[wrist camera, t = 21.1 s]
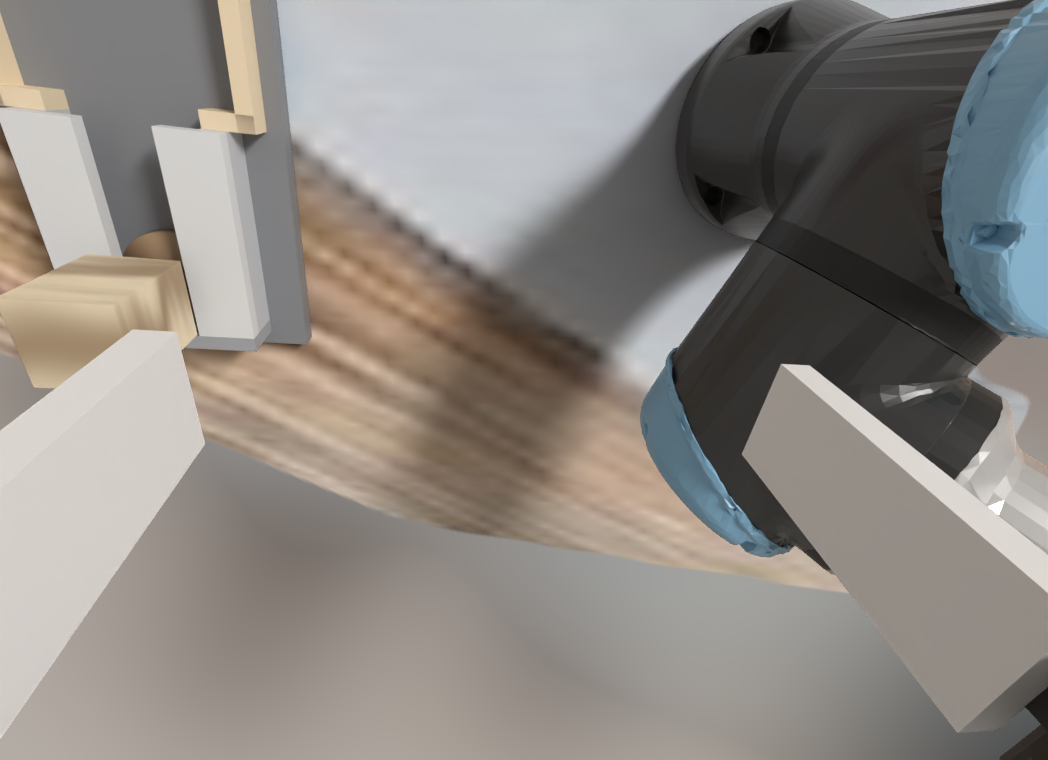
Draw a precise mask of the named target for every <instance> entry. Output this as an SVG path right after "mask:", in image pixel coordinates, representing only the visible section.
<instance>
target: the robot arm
mask: <svg viewBox="0 0 1048 760" xmlns="http://www.w3.org/2000/svg"><path fill="white" fill-rule="evenodd" d="M676 154H677V166H678V172H679V176H680V180H681V183H682V186H683V189H684V191H685V193H686V195H687V197H688V199H689V201H690V202H691V204H692V205H693V207H694V208H695V209H696V210H697V211H698V213H699V214H700V215H701V216H702V217H704V218H705V219H706V220H707V221H709V222H710V223H712V224H713V225H715V226H717V227H719V228H721V229H723V230H725V231H726V232H728V233H731V234H733V235H735V236H738V237H742V238H746V239H752V240H755V241H754V243H753V244H752V246H751V247H750V248H749V250H748V251H747V253H746V254H745V256H744V257H743V258H742V260H741V261H740V263H739V264H738V266H737V267H736V268H735V270H734V271H733V273H732V274H731V276H730V277H729V278H728V280H727V281H726V282H725V284H724V285H723V287H722V288H721V289H720V291H719V292H718V293H717V295H716V296H715V298H714V299H713V300H712V302H711V303H710V304H709V306H708V307H707V309H706V310H705V311H704V313H703V314H702V315H701V317H700V318H699V319H698V321H697V322H696V324H695V325H694V326H693V328H692V329H691V330H690V332H689V333H688V335H687V336H686V337H685V339H684V340H683V341H682V343H681V344H680V346H679V347H678V348H673V350H672V351H671V352H670V353H669V355H668V357H667V359H666V365H665V367H664V369H663V370H662V372H661V373H660V375H659V376H658V378H657V380H656V381H655V383H654V384H653V386H652V387H651V389H650V390H649V392H648V393H647V395H646V397H645V399H644V401H643V404H642V407H641V414H640V423H641V428H642V434H643V436H644V439H645V441H646V446H647V449H648V452H649V454H650V456H651V458H652V460H653V461H654V463H655V465H656V467H657V468H658V470H659V472H660V473H661V475H662V476H663V478H664V479H665V481H666V482H667V483H668V485H669V486H670V487H671V489H672V490H673V491H674V492H675V493H676V495H677V496H678V497H679V498H680V499H681V501H682V502H683V503H684V504H685V505H686V506H687V507H688V508H689V509H690V510H691V511H692V512H693V513H694V514H695V515H696V516H697V517H698V518H699V519H700V520H701V521H702V522H703V523H704V524H705V525H706V526H707V527H709V528H710V529H711V530H712V531H714V532H715V533H716V534H718V535H719V536H720V537H722V538H723V539H725V540H726V541H728V542H729V543H731V544H733V545H738V544H740V545H741V547H742V548H743V549H744V550H745V551H746V552H748V553H750V554H753V555H756V556H760V557H772V556H775V555H778V554H784V553H787V552H789V551H790V550H791V549H792V548H793V547H794V545H795V546H796V547H798V548H799V549H800V550H802V551H803V552H804V553H806V554H807V555H808V556H809V557H810V558H812V559H813V560H814V561H815V562H817V563H818V564H819V565H820V566H821V567H823V569H825V570H826V571H828V572H829V573H830V574H833V575H836V576H837V578H838V579H839V580H840V582H841V583H842V584H843V586H844V587H845V588H846V589H847V591H848V592H849V593H850V595H851V596H852V597H853V598H854V600H855V601H856V602H857V604H858V605H859V606H860V607H861V609H862V610H863V611H864V613H865V614H866V615H867V617H868V618H869V619H870V620H871V622H872V623H873V624H874V625H875V627H876V628H877V629H878V631H879V632H880V633H881V635H882V636H883V637H884V638H885V640H886V641H887V642H888V644H889V645H890V646H891V648H892V649H893V650H894V651H895V653H896V654H897V655H898V657H899V658H900V659H901V660H902V662H903V663H904V664H905V666H906V667H907V668H908V669H909V671H910V672H911V673H912V675H913V676H914V677H915V678H916V680H917V681H918V682H919V684H920V685H921V686H922V687H923V689H924V690H925V691H926V693H927V694H928V695H929V697H930V698H931V699H932V700H933V702H934V703H935V704H936V706H937V707H938V708H939V709H940V711H941V712H942V713H943V715H944V716H945V717H946V718H947V720H948V721H949V722H950V724H951V725H952V726H953V728H954V729H955V730H956V731H957V733H964V732H975V731H986V730H997V729H1000V728H1001V727H1002V726H1004V725H1005V724H1006V723H1007V722H1009V721H1010V720H1011V719H1012V718H1013V717H1015V716H1016V715H1017V714H1018V713H1019V712H1021V711H1022V710H1023V709H1024V708H1025V707H1026V708H1027V709H1028V710H1029V711H1030V713H1031V714H1033V716H1034V717H1035V718H1036V719H1037V720H1038V721H1039V722H1040V723H1041V725H1040V726H1039V727H1037V728H1036V729H1035V730H1034V731H1032V732H1031V733H1030V734H1029V735H1027V736H1026V737H1025V738H1024V739H1022V740H1021V741H1020V742H1018V743H1017V744H1016V745H1015V746H1013V747H1012V748H1011V749H1010V750H1008V751H1007V752H1006V753H1004V754H1003V755H1002V756H1001V757H1000V760H1048V467H1046V466H1044V465H1043V464H1041V463H1040V462H1038V461H1036V460H1035V459H1033V458H1031V457H1030V456H1028V455H1026V454H1025V453H1023V452H1022V451H1021V450H1020V448H1019V446H1018V444H1017V442H1016V438H1015V432H1014V426H1013V420H1012V414H1011V407H1010V404H1009V403H1008V401H1007V400H1005V399H1004V398H1002V397H1001V396H998V395H997V394H995V393H993V392H991V391H990V390H988V389H986V388H985V387H983V386H981V385H979V384H978V383H976V382H974V381H972V380H971V379H969V378H968V375H969V374H970V373H971V372H972V370H973V369H974V368H975V367H976V366H977V365H978V364H979V363H980V362H981V361H982V360H983V359H984V358H985V357H986V356H987V355H988V354H989V353H990V352H991V351H992V350H993V349H994V348H995V347H996V346H997V345H999V344H1000V342H1002V341H1003V340H1004V339H1005V338H1006V337H1007V336H1008V335H1011V336H1015V337H1027V338H1034V337H1036V338H1048V0H1008V1H1001V2H995V3H989V4H982V5H976V6H970V7H963V8H957V9H950V10H944V11H938V12H931V13H925V14H919V15H912V16H906V17H901V18H895V19H890V18H888V17H886V16H884V15H882V14H880V13H878V12H876V11H874V10H871V9H869V8H867V7H865V6H863V5H861V4H859V3H856V2H854V1H851V0H796V1H792V2H787V3H784V4H780V5H777V6H774V7H771V8H769V9H766V10H764V11H762V12H760V13H758V14H756V15H755V16H753V17H751V18H750V19H748V20H747V21H745V22H744V23H742V24H741V25H740V26H738V27H737V28H736V29H735V30H734V31H732V32H731V33H730V34H729V35H728V36H727V37H726V38H725V39H724V40H723V41H722V42H721V43H720V44H719V45H718V46H717V47H716V49H715V50H714V51H713V52H712V54H711V55H710V56H709V58H708V59H707V60H706V62H705V63H704V65H703V66H702V68H701V69H700V71H699V73H698V75H697V76H696V78H695V80H694V82H693V84H692V86H691V88H690V90H689V93H688V95H687V98H686V100H685V103H684V106H683V109H682V113H681V117H680V121H679V126H678V133H677V145H676ZM204 445H205V441H204V437H203V433H202V429H201V425H200V421H199V418H198V414H197V410H196V406H195V402H194V398H193V394H192V390H191V386H190V382H189V379H188V375H187V371H186V367H185V363H184V359H183V355H182V351H181V347H180V343H179V340H178V336H177V332H172V331H153V330H134V329H133V330H131V331H130V332H129V333H127V334H126V335H125V336H123V337H122V338H121V339H120V340H118V341H117V342H116V343H114V344H113V345H112V346H110V347H109V348H108V349H106V350H105V351H104V352H103V353H101V354H100V355H99V356H97V357H96V358H95V359H93V360H92V361H91V362H89V363H88V364H87V365H85V366H84V367H83V368H82V369H80V370H79V371H78V372H76V373H75V374H74V375H72V376H71V377H70V378H68V379H67V380H66V381H64V382H63V383H62V384H61V385H59V386H58V387H57V388H55V389H54V390H53V391H51V392H50V393H49V394H47V395H46V396H45V397H44V398H42V399H41V400H40V401H38V402H37V403H36V404H34V405H33V406H32V407H30V408H29V409H28V410H27V411H25V412H24V413H23V414H21V415H20V416H19V417H17V418H16V419H15V420H13V421H12V422H11V423H10V424H8V425H7V426H5V427H4V428H3V429H2V430H0V739H1V737H2V736H3V735H4V733H5V731H6V730H7V729H8V727H9V726H10V724H11V723H12V722H13V720H14V719H15V717H16V716H17V714H18V713H19V711H20V710H21V709H22V707H23V706H24V704H25V703H26V701H27V700H28V699H29V697H30V696H31V694H32V693H33V691H34V690H35V688H36V687H37V685H38V684H39V683H40V681H41V680H42V678H43V677H44V675H45V674H46V673H47V671H48V670H49V668H50V667H51V665H52V664H53V662H54V661H55V659H56V658H57V656H58V655H59V654H60V652H61V651H62V649H63V648H64V647H65V645H66V644H67V642H68V641H69V639H70V638H71V637H72V635H73V633H74V632H75V631H76V629H77V628H78V626H79V625H80V624H81V622H82V621H83V619H84V618H85V616H86V615H87V613H88V612H89V611H90V609H91V608H92V606H93V605H94V603H95V602H96V600H97V599H98V598H99V596H100V594H101V593H102V592H103V590H104V589H105V587H106V586H107V584H108V583H109V582H110V580H111V579H112V577H113V576H114V574H115V573H116V572H117V570H118V569H119V567H120V566H121V564H122V563H123V562H124V560H125V559H126V557H127V556H128V554H129V553H130V551H131V550H132V548H133V547H134V546H135V544H136V543H137V541H138V540H139V538H140V537H141V535H142V534H143V532H144V531H145V530H146V528H147V527H148V525H149V524H150V523H151V521H152V520H153V518H154V517H155V515H156V514H157V513H158V511H159V510H160V508H161V507H162V505H163V504H164V502H165V501H166V500H167V498H168V497H169V495H170V494H171V492H172V491H173V489H174V488H175V487H176V485H177V484H178V482H179V481H180V479H181V478H182V476H183V475H184V474H185V472H186V471H187V469H188V468H189V466H190V464H191V463H192V462H193V461H194V459H195V458H196V456H197V455H198V453H199V452H200V451H201V449H202V448H203V446H204Z"/></svg>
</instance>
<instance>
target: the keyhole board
mask: <svg viewBox="0 0 1048 760" xmlns="http://www.w3.org/2000/svg"><path fill="white" fill-rule="evenodd" d="M0 124H1V127H2V130H3V132H4V135H5V138H6V141H7V143H8V146H9V149H10V151H11V154H12V157H13V160H14V162H15V165H16V168H17V170H18V173H19V176H20V179H21V181H22V184H23V187H24V190H25V192H26V195H27V198H28V200H29V203H30V206H31V209H32V211H33V214H34V217H35V219H36V222H37V225H38V228H39V230H40V233H41V236H42V238H43V241H44V244H45V247H46V249H47V252H48V255H49V257H50V260H51V263H52V266H53V268H54V269H57V268H59V267H61V266H63V265H65V264H67V263H69V262H71V261H73V260H75V259H78V258H80V257H82V256H84V255H86V254H97V255H110V256H123V254H124V251H125V249H126V248H127V246H128V245H129V244H130V243H131V242H132V241H133V240H135V239H136V238H138V237H140V236H142V235H144V234H146V233H148V232H151V231H154V230H158V229H174V230H175V232H176V236H177V240H178V245H179V249H180V253H181V257H182V262H183V266H184V270H185V275H186V279H187V283H188V288H189V292H190V296H191V301H192V305H193V309H194V314H195V317H193V318H194V322H195V326H196V331H197V336H196V337H195V338H194V339H193V340H192V341H191V342H190V343H189V344H188V345H187V346H186V347H185V348H193V349H214V350H234V351H255V352H256V351H257V350H258V349H259V347H260V346H261V345H262V343H263V342H268V343H287V344H308V342H309V340H310V339H311V337H312V333H311V324H310V314H309V305H308V295H307V286H306V276H305V267H304V257H303V248H302V238H301V229H300V220H299V210H298V201H297V191H296V182H295V172H294V163H293V153H292V144H291V134H290V125H289V115H288V106H287V96H286V87H285V77H284V68H283V58H282V49H281V40H280V30H279V21H278V11H277V2H276V0H0Z"/></svg>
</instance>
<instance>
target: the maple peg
mask: <svg viewBox="0 0 1048 760" xmlns="http://www.w3.org/2000/svg"><path fill="white" fill-rule="evenodd" d="M0 312H1V315H2V317H3V319H4V321H5V324H6V326H7V328H8V330H9V333H10V335H11V337H12V339H13V342H14V344H15V346H16V348H17V351H18V353H19V355H20V357H21V360H22V362H23V364H24V366H25V369H26V371H27V373H28V375H29V377H30V380H31V382H32V384H33V386H34V388H57V387H58V386H59V385H61V384H62V383H63V382H64V381H66V380H67V379H68V378H70V377H71V376H72V375H74V374H75V373H76V372H78V371H79V370H80V369H82V368H83V367H84V366H85V365H87V364H88V363H89V362H91V361H92V360H93V359H95V358H96V357H97V356H99V355H100V354H101V353H103V352H104V351H105V350H106V349H108V348H109V347H110V346H112V345H113V344H114V343H116V342H117V341H118V340H120V339H121V338H122V337H123V336H125V335H126V334H127V333H129V332H130V331H131V330H133V329H134V330H153V331H172V332H177V336H178V340H179V343H180V347H181V351H182V350H183V349H184V348H185V347H186V346H187V345H188V344H189V343H190V342H191V341H192V340H193V339H194V338H195V337H196V336H197V331H196V326H195V322H194V318H193V317H195V314H194V309H193V305H192V301H191V296H190V292H189V288H188V283H187V279H186V275H185V270H184V266H183V262H182V257H181V253H180V249H179V245H178V240H177V236H176V232H175V230H174V229H158V230H154V231H151V232H148V233H146V234H144V235H142V236H140V237H138V238H136V239H135V240H133V241H132V242H131V243H130V244H129V245H128V246H127V248H126V249H125V251H124V254H123V256H110V255H97V254H86V255H84V256H82V257H80V258H78V259H75V260H73V261H71V262H69V263H67V264H65V265H63V266H61V267H59V268H57V269H54V270H52V271H50V272H48V273H46V274H44V275H42V276H40V277H38V278H36V279H33V280H31V281H29V282H27V283H25V284H23V285H21V286H19V287H17V288H15V289H12V290H10V291H8V292H6V293H4V294H2V295H0Z"/></svg>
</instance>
